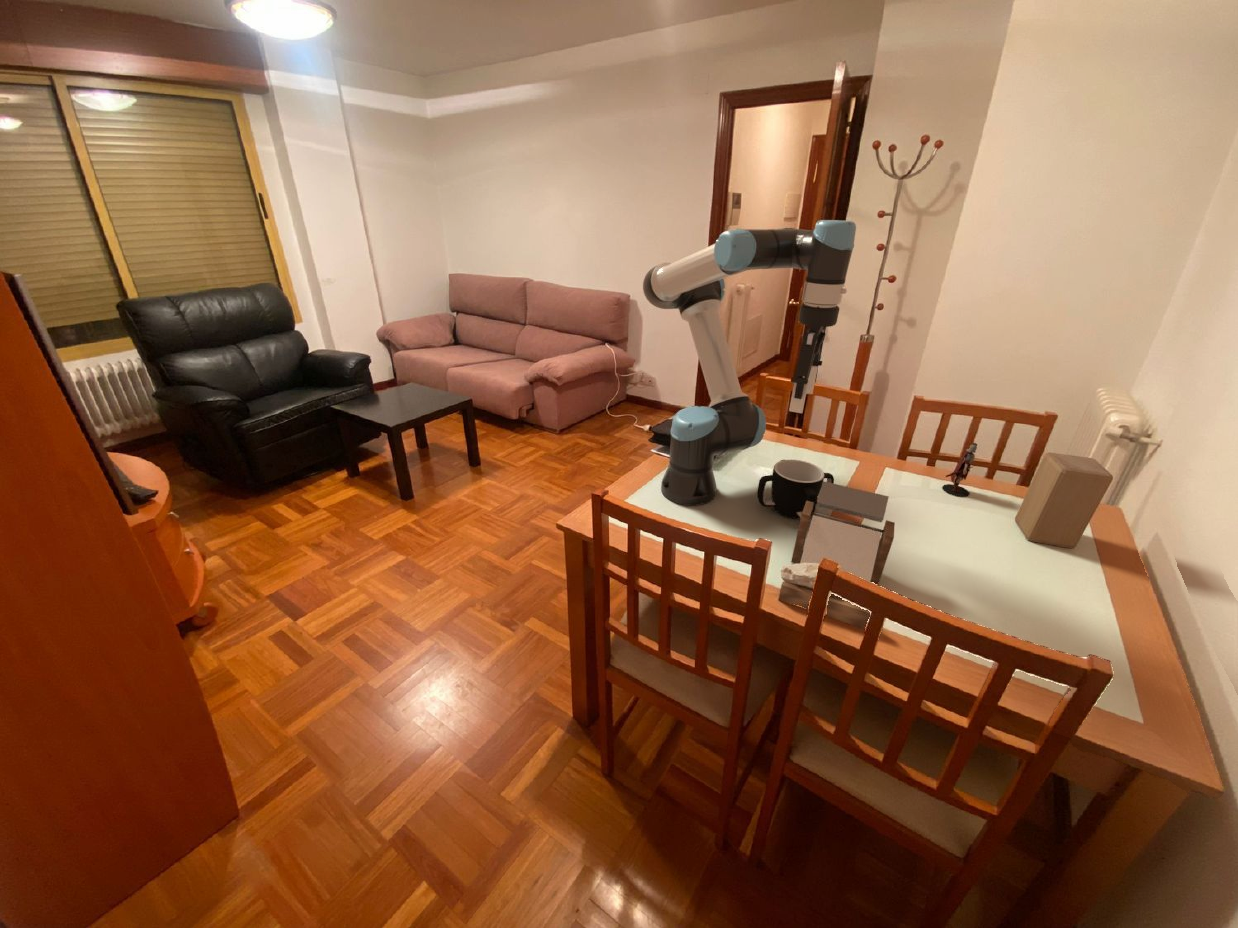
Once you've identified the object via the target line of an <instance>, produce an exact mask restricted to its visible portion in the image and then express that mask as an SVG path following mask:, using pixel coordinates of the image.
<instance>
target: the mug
mask: <svg viewBox="0 0 1238 928" xmlns="http://www.w3.org/2000/svg"><path fill="white" fill-rule="evenodd" d="M824 479H826V480H825V482H829V483H833V484H835V477H834V476H833V474H832V473H830V472H824V471H823V469H822V468H820V467H819V466H817V465H815V464H814V463H812V462H809V461H805V460H801V459H800V460H799V459H781V460H779V461H778V462H776V463H775V464H774V466H773V470H772V474H770V475H769V474H768V475H763V476H761V477H760V479H759V481H758V485H757V492H756V494H757V495H756V496H757V501H758V504H759V505H761V506H762V507H765V508H773V510H774V511H775V512H776V513H777V514H779V515H781V516H783V517H784V518H789V519H799V521H800V520H801V515H802V512H803V509H804V506H805V504H806V501H810V502H814V505H813V509H812V512H815V511H816V508H817V502H818V498H819V494H820V491H821V487H822V483H823V481H824ZM768 482H771V500H765V499H764V496H765V495H764V494H765V488H766V485H767V483H768ZM815 513H816V512H815ZM812 517H813V515H812V514H811V518H810V520H812Z"/></svg>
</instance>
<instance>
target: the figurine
mask: <svg viewBox="0 0 1238 928" xmlns="http://www.w3.org/2000/svg"><path fill="white" fill-rule="evenodd" d="M977 446H978V444H977V443H975V442H972V443H971V444H970V445H969V448H966V449H965V450H964V451H963V453H962V457H961V460H960V461H959V463H958V464H957V466H956V467H955V469H954V470H953V472H951V473H949V474H947V475H945V478H948V477H950V478H951V480H950V481H951V482H952V484H950V483H948V484H944V485H942V487H941V488H942V490H943V492H944V493H945V492H946V493H947V494H949V495H952V496H955V497H958V498H959V497H960V498H965V497H966V498H967V497H969V496H970V491H969V490H968V489H966V488H965V487H963V486H959V485H960V483H961V482H962V481H963V480H965V481H966V479H967V477H968V475H969V472H971V469H972V468H974V466H973V465H972V466H971V464H972V463H973V462H974V461H975V460H974V459H975V457H976V455H975V454H974V453H976V452H977V451H976V450H977V448H978V447H977Z"/></svg>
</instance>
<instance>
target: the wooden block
mask: <svg viewBox="0 0 1238 928" xmlns="http://www.w3.org/2000/svg"><path fill="white" fill-rule="evenodd" d="M1113 479H1114V477H1113V474H1111V472H1109V471H1108V470H1107V469H1106V468H1105V467H1104V466H1103V465H1102V464H1101V463H1100V462H1098V461H1097V460H1096V459H1094V458H1093V457H1086V456H1079V455H1072V454H1071V455H1070V454H1065V453H1057V452H1056V453H1055V452H1046V453H1045V454H1044V455H1043V458H1042V459H1041V462H1040V464H1039V466H1038V468H1037V470H1036V472H1035V474H1034V477H1033V479H1032V481H1031V482H1030V486H1029V488H1028V489H1027V491H1026V494H1025V496H1024V498H1023V500H1022V502H1021V504H1020V507H1019V509H1018V510H1017V513H1016V515H1015V517H1014V522H1015V523H1016V525H1017V526H1018V528H1019V530H1020V531H1021V532H1022V534H1023V536H1024V537H1025V539H1026V540H1028V541H1030V542H1034V543H1040V544H1046V545H1051V546H1057V547H1060V548H1061V547H1062V548H1068V549H1074V548H1076V547H1077V546H1078V543H1079V541H1080V540H1081V539H1082V536H1083V534H1084V533H1085V530H1086V529H1087V527H1088V525H1089V524H1090V522H1091V520H1092V518H1093V517H1094V514H1095V512H1096V511H1097V509H1098V507H1099V505H1100V503H1101V502H1102V500H1103V498H1104V496H1105V495H1106V493H1107V491H1108V489H1109V487H1110V485H1111V483H1112V481H1113Z"/></svg>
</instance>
